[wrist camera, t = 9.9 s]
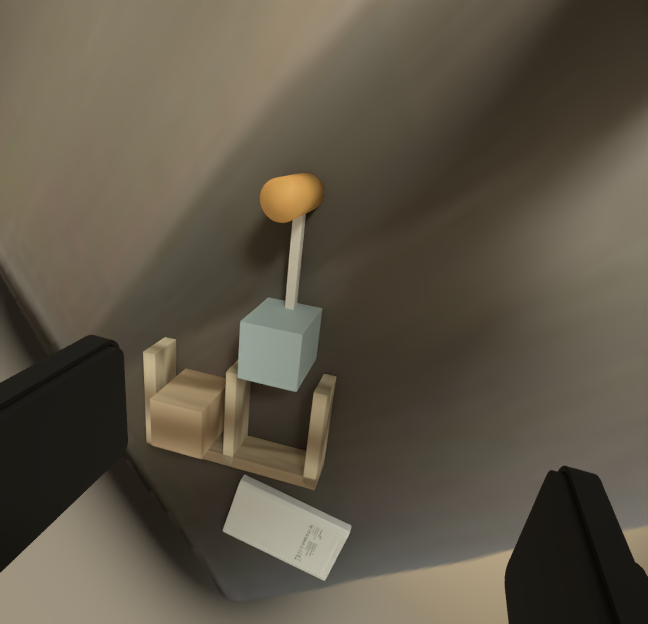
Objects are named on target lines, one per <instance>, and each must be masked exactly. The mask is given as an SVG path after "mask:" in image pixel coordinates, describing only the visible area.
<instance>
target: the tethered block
mask: <svg viewBox="0 0 648 624" xmlns="http://www.w3.org/2000/svg"><path fill="white" fill-rule="evenodd" d="M323 197H324V188H323V185H322V183H321V181H320V180H319V179H318V178H317V177H316V176H315V175H313V174H311V173H299V174H294V175H288V176H283V177H277V178H273V179H271V180H269V181H268V182H267V183H266V184H265V185H264V186H263V188H262V191H261V194H260V203H261V207H262V209H263V211H264V213H265V214H266V215H267V216H268V217H269V218H270V219H271V220H273V221H275V222H279V223H286V222H289V221H291V220H293V221H292V232H291V244H290V255H289V266H288V278H287V289H286V300H285V301H284V300H279V299H274V298H269V297H268V298H267V299H266V300H265V301H264V302H262V303H261V304H260V305H259V306H258V307H256V308H255V309H254V310H253V311H252V312H251V313H249V314H248V315H247V316H246V317H245V318H244V319H242V320H241V321H240V337H239V357H238V378H240V379H244V380H248V381H252V382H256V383H260V384H265V385H269V386H273V387H277V388H281V389H285V390H290V391H294V392H297V390H298V389H299V387H300V385H301V384H302V382H303V380H304V379H305V377H306V375H307V374H308V372H309V370H310V369H311V367H312V365H313V364H314V362H315V360H316V357H317V349H318V341H319V333H320V324H321V316H322V308H319V307H314V306H309V305H304V304H299V303H297V298H298V288H299V278H300V268H301V258H302V248H303V237H304V227H305V217H306V213H308V212H310V211H312V210H314V209H316V208H317V207H318V206H319V205H320V204H321V202H322V200H323Z"/></svg>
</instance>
